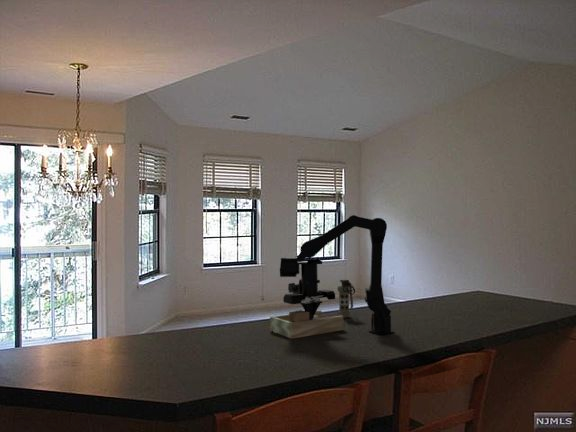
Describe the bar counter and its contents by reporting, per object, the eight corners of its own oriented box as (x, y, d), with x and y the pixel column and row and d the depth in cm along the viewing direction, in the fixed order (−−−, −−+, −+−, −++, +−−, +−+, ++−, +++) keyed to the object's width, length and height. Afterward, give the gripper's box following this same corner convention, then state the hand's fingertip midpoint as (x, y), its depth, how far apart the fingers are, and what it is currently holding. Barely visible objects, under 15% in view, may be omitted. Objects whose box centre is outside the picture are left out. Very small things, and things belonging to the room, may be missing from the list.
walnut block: (309, 326, 176) (309, 312, 176) (297, 328, 173) (297, 313, 173) (301, 324, 180) (301, 310, 180) (289, 326, 177) (289, 311, 177)
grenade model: (346, 319, 200) (345, 281, 200) (336, 316, 206) (335, 279, 206) (359, 317, 203) (358, 280, 203) (348, 315, 209) (348, 278, 209)
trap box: (343, 329, 181) (343, 315, 181) (291, 338, 169) (291, 323, 169) (319, 323, 193) (319, 310, 193) (270, 330, 181) (270, 316, 181)
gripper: (317, 272, 191) (318, 314, 191) (274, 276, 181) (275, 320, 181) (335, 275, 181) (336, 319, 181) (291, 279, 171) (292, 326, 171)
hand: (310, 321), depth 179 cm, fingers closed
